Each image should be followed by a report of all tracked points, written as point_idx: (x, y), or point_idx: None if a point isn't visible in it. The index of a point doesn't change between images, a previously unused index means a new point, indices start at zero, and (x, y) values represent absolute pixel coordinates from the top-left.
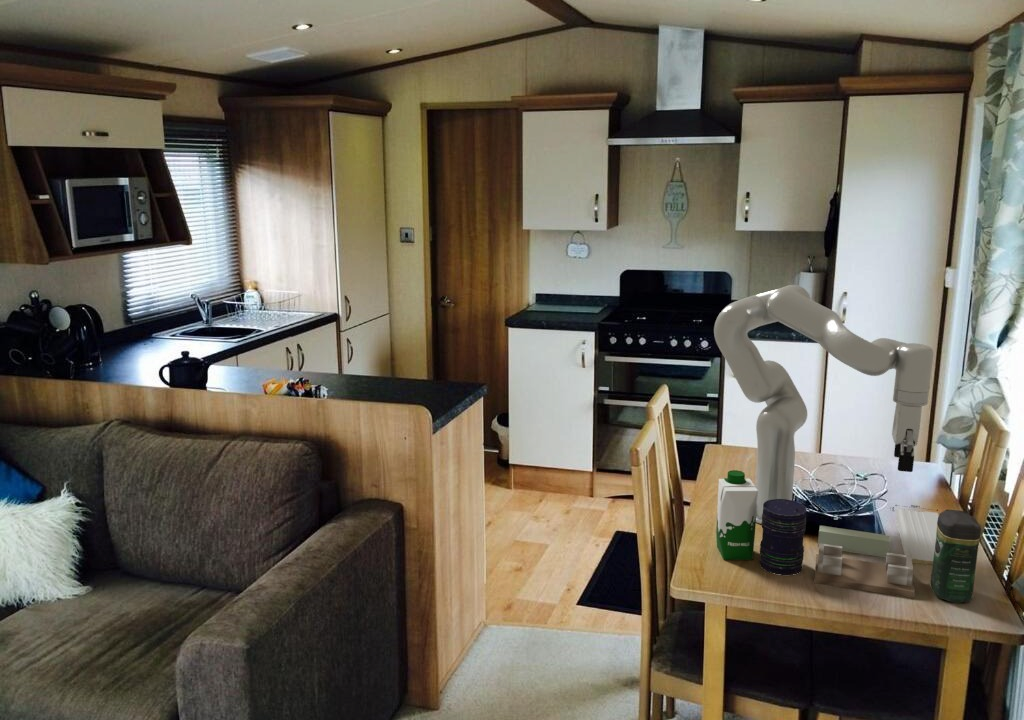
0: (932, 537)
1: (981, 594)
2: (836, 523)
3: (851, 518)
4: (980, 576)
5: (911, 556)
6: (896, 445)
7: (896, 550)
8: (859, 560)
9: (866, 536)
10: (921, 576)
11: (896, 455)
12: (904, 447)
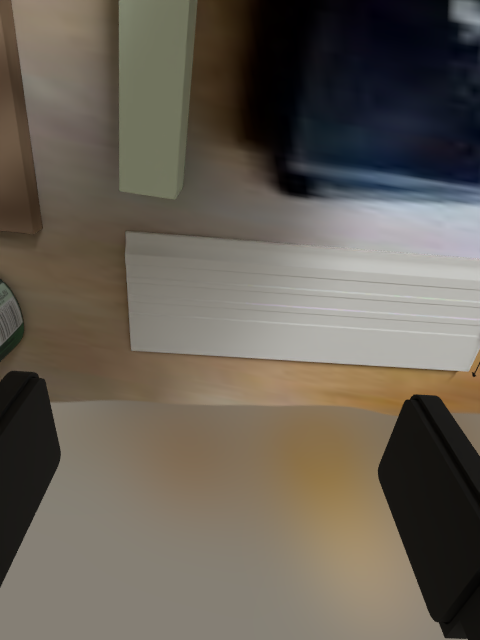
0: (294, 329)
1: (5, 369)
2: (412, 7)
3: (462, 90)
4: (105, 385)
5: (147, 251)
6: (468, 507)
7: (200, 215)
8: (2, 50)
9: (136, 99)
10: (38, 256)
11: (408, 416)
12: (428, 546)
